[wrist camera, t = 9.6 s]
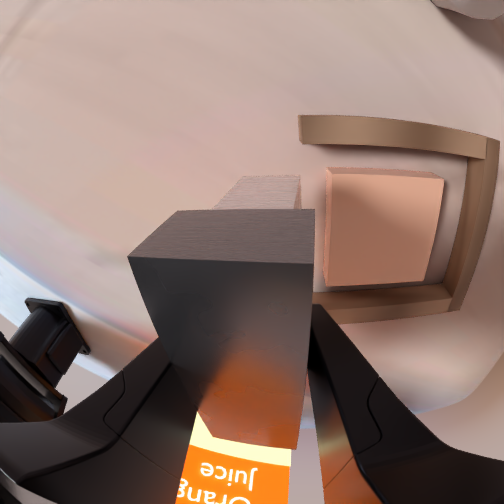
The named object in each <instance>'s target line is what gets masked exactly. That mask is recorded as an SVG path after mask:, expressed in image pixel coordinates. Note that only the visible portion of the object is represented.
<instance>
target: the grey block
mask: <svg viewBox="0 0 504 504" xmlns="http://www.w3.org/2000/svg"><path fill="white" fill-rule="evenodd" d="M314 245H315V209H301V185H300V175H278V176H244V177H242V178H241V179H240V180H239V181H238V182H237V183H236V184H235V185H234V186H233V187H232V188H231V189H230V190H229V191H228V192H227V194H226V195H225V196H224V197H223V198H222V199H221V200H220V201H219V202H218V203H217V204H216V205H215V206H214V207H213V208H212V210H187V211H177V212H175V213H174V214H173V215H172V216H171V217H170V218H169V219H167V220H166V221H165V222H164V223H163V224H162V225H161V226H159V227H158V228H157V229H156V230H155V231H154V232H153V233H152V234H151V235H150V236H148V237H147V238H146V239H145V240H144V241H143V242H142V243H141V244H140V245H139V246H138V247H137V248H136V249H134V250H133V251H132V252H131V253H130V254H129V255H128V256H127V257H128V260H129V263H130V266H131V269H132V271H133V274H134V277H135V280H136V282H137V285H138V288H139V290H140V293H141V296H142V298H143V301H144V303H145V306H146V308H147V310H148V313H149V315H150V318H151V320H152V322H153V325H154V327H155V329H156V332H157V334H158V336H159V338H160V340H161V343H162V345H163V347H164V349H165V351H166V353H167V355H168V357H169V360H170V362H171V363H172V365H173V367H174V369H175V371H176V373H177V374H178V376H179V378H180V380H181V382H182V384H183V386H184V388H185V390H186V392H187V393H188V395H189V397H190V399H191V401H192V403H193V404H194V406H195V408H196V410H197V412H198V414H199V415H200V417H201V419H202V421H203V422H204V424H205V426H206V427H207V429H208V430H209V432H210V434H211V435H212V437H214V438H219V439H224V440H229V441H234V442H239V443H245V444H251V445H258V446H265V447H273V448H283V449H295V450H296V448H297V441H298V436H299V429H300V422H301V415H302V408H303V400H304V392H305V383H306V374H307V364H308V353H309V342H310V329H311V315H312V298H313V277H314Z"/></svg>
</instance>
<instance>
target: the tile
mask: <svg viewBox="0 0 504 504" xmlns="http://www.w3.org/2000/svg"><path fill="white" fill-rule="evenodd" d="M443 186H444V179H442V178H441V177H439V176H437V175H435V174H433V173H431V172H420V171H408V170H394V169H376V168H343V167H327V190H326V228H325V249H324V265H323V274H324V279H325V283H326V286H349V285H368V284H385V283H400V282H414V281H423V280H424V276H425V273H426V269H427V266H428V262H429V258H430V254H431V250H432V246H433V242H434V237H435V233H436V228H437V223H438V217H439V212H440V206H441V200H442V193H443Z"/></svg>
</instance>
